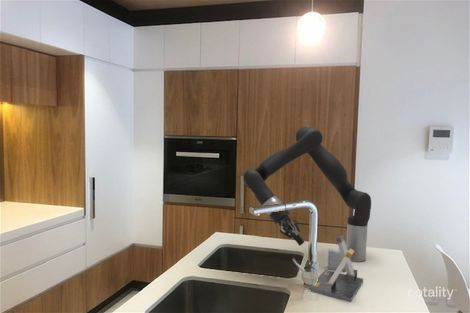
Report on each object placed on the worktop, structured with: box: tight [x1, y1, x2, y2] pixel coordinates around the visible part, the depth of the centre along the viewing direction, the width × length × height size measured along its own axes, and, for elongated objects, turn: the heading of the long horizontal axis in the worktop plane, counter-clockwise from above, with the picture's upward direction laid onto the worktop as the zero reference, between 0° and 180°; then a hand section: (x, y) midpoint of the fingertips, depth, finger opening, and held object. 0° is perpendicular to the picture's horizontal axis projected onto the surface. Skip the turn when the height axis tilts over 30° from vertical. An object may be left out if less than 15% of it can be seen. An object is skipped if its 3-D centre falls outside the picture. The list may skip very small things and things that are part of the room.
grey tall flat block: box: [335, 234, 356, 277], centre depth 147 cm, size 5×2×18 cm, turn 148°
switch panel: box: [308, 268, 364, 303], centre depth 143 cm, size 20×16×4 cm
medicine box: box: [327, 247, 346, 272], centre depth 160 cm, size 8×4×9 cm, turn 74°
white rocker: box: [328, 248, 354, 286], centre depth 135 cm, size 5×2×18 cm, turn 148°
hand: (302, 244), depth 142 cm, fingers closed
